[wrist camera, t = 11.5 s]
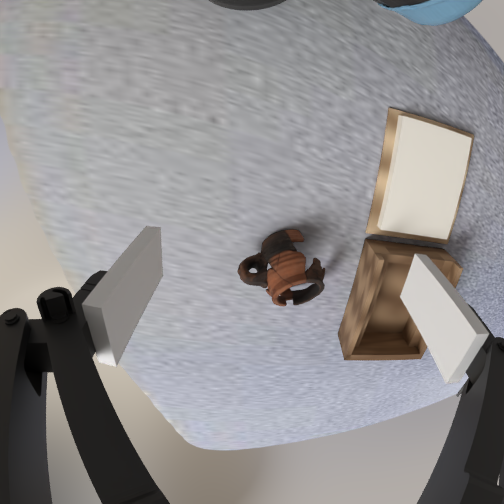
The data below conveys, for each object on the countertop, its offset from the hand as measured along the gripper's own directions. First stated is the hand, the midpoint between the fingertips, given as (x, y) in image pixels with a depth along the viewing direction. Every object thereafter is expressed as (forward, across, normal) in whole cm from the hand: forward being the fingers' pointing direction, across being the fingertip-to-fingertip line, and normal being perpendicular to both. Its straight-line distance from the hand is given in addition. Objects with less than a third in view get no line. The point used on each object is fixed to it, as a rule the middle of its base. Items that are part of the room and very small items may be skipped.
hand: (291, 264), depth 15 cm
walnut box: (+27, +22, -18) cm, 39 cm away
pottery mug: (+27, +2, -14) cm, 30 cm away
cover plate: (+26, +22, +1) cm, 34 cm away
